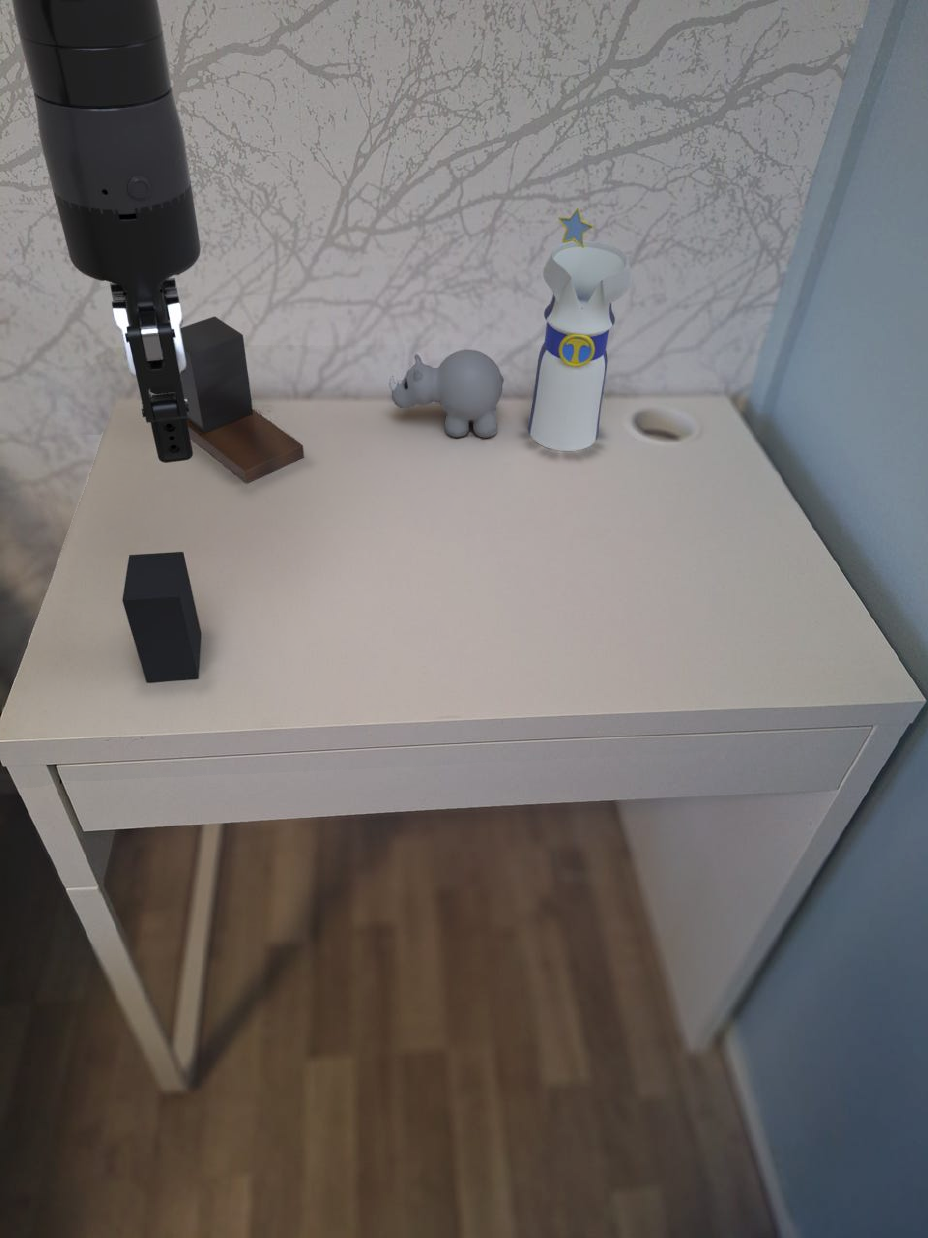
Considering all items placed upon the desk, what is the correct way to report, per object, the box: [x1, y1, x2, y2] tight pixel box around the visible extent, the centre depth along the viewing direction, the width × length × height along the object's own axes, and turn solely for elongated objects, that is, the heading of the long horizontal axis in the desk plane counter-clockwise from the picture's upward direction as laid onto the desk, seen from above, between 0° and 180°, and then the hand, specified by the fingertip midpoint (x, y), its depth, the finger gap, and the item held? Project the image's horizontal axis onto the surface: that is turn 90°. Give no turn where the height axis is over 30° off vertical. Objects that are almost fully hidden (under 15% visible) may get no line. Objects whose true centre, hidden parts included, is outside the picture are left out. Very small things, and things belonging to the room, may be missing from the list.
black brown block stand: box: [173, 316, 305, 484], centre depth 92 cm, size 7×13×10 cm, turn 44°
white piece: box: [527, 207, 633, 452], centre depth 91 cm, size 8×9×25 cm
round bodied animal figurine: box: [388, 349, 505, 439], centre depth 97 cm, size 7×12×8 cm, turn 89°
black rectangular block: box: [121, 551, 202, 684], centre depth 71 cm, size 4×5×9 cm
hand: (170, 423), depth 63 cm, fingers open, 8 cm apart
